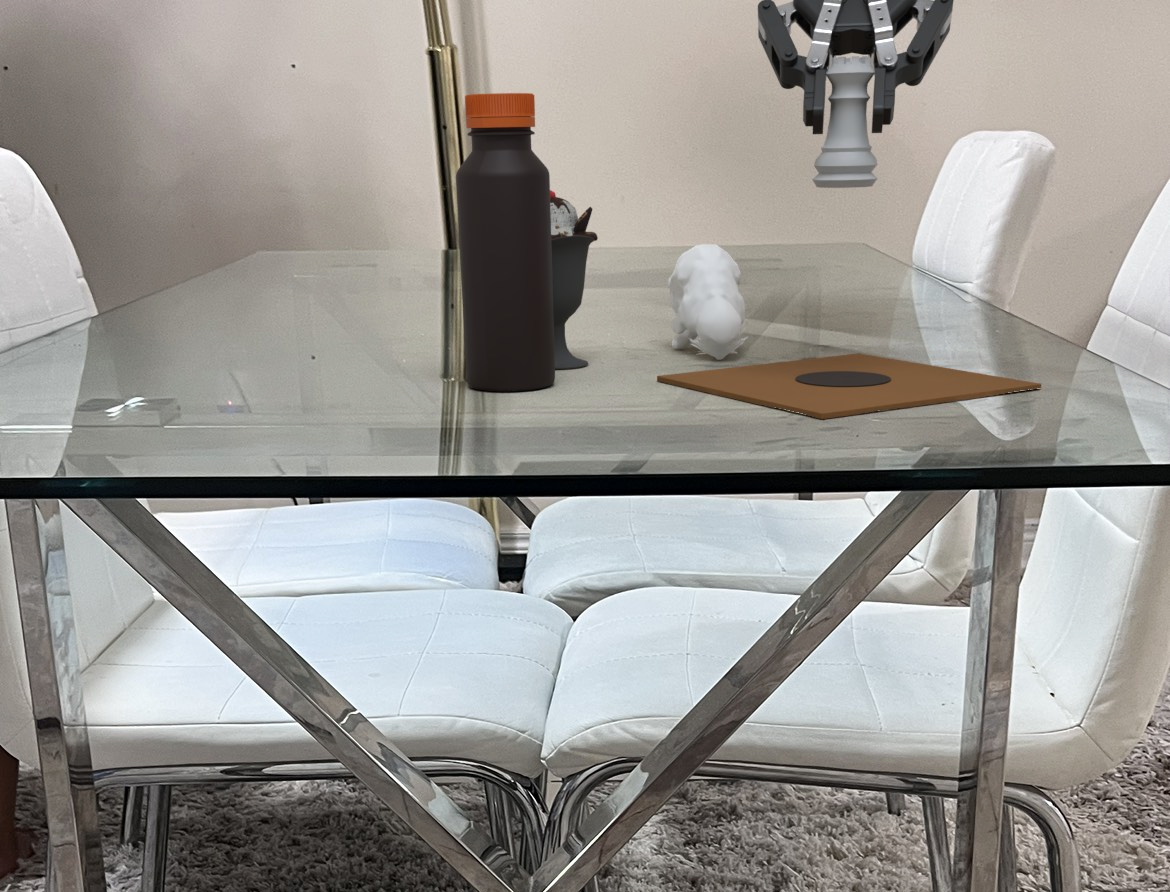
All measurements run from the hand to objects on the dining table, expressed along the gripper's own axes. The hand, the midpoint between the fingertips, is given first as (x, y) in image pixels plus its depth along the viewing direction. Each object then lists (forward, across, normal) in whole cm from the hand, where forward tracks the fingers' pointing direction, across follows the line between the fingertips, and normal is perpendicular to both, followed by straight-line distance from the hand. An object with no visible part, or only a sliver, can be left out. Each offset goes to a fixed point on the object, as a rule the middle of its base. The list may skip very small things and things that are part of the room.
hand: (848, 123), depth 94 cm
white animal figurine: (-1, -11, +27) cm, 29 cm away
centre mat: (+10, +1, +15) cm, 18 cm away
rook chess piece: (+2, 0, +4) cm, 5 cm away
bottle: (+11, -24, +14) cm, 30 cm away
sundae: (+4, -23, +22) cm, 31 cm away
